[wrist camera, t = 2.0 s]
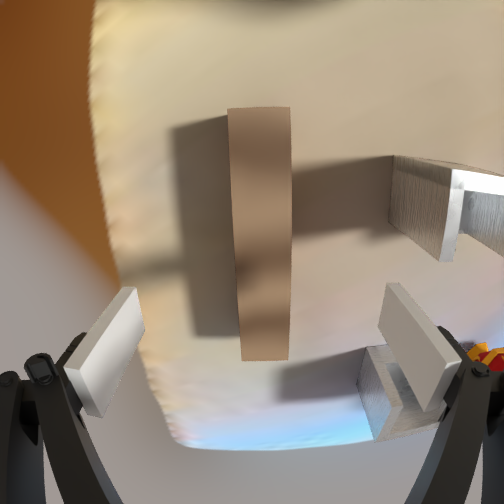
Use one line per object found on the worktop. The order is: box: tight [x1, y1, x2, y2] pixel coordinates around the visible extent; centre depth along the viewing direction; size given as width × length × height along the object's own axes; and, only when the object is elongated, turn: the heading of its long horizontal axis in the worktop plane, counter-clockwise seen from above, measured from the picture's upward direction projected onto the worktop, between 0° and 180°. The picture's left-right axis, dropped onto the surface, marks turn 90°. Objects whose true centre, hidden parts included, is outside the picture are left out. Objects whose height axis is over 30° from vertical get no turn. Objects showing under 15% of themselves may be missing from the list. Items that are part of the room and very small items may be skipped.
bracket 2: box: [356, 345, 447, 442], centre depth 27 cm, size 6×8×9 cm
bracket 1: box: [388, 155, 504, 262], centre depth 20 cm, size 6×8×9 cm
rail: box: [227, 107, 292, 361], centre depth 24 cm, size 20×4×5 cm, turn 2°
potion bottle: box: [467, 343, 504, 371], centre depth 25 cm, size 10×10×15 cm
